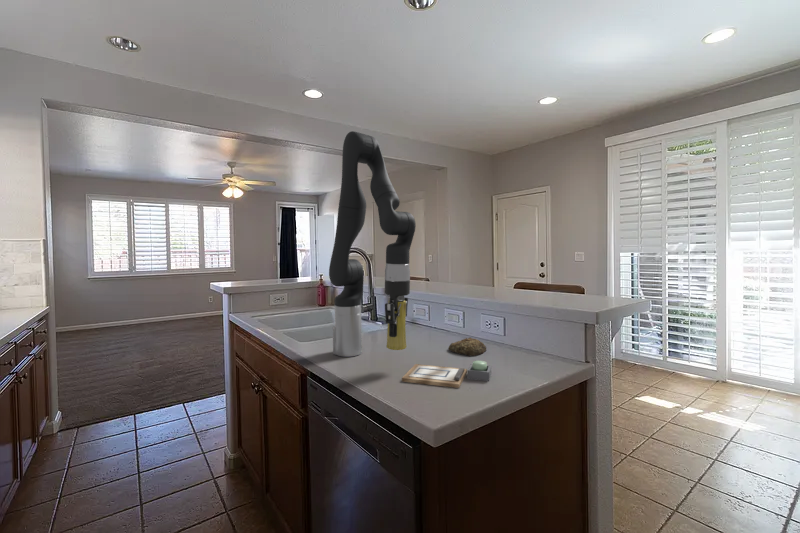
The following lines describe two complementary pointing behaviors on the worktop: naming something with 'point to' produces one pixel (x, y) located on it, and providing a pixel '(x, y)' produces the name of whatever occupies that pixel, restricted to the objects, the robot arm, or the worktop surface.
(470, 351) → the bread roll
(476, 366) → the button
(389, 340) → the vase
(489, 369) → the button housing
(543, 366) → the worktop surface
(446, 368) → the clipboard
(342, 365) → the worktop surface
